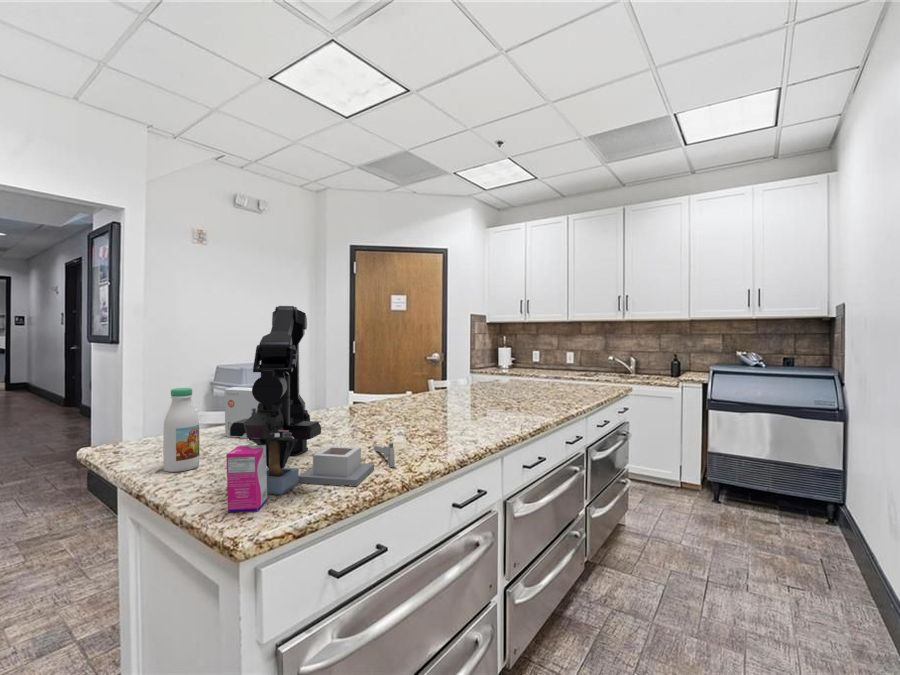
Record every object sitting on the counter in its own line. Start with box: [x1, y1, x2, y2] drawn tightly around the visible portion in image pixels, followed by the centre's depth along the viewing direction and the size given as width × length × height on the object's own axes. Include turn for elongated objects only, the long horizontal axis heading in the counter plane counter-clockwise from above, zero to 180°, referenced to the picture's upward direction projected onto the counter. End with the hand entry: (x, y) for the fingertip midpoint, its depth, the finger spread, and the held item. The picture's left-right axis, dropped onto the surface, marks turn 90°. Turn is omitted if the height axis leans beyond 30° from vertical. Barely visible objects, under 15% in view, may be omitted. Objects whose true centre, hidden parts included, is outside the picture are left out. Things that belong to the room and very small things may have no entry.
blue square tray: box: [266, 467, 300, 496], centre depth 96 cm, size 7×7×4 cm
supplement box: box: [226, 444, 268, 513], centre depth 86 cm, size 6×6×12 cm
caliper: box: [372, 442, 396, 468], centre depth 120 cm, size 20×1×6 cm, turn 23°
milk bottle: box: [162, 387, 200, 473], centre depth 109 cm, size 8×8×20 cm
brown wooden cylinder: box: [269, 437, 282, 477], centre depth 96 cm, size 3×3×10 cm
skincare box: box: [224, 386, 280, 439], centre depth 141 cm, size 21×5×16 cm, turn 77°
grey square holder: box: [299, 445, 375, 487], centre depth 104 cm, size 14×12×6 cm
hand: (275, 467), depth 96 cm, fingers closed on brown wooden cylinder, 3 cm apart
